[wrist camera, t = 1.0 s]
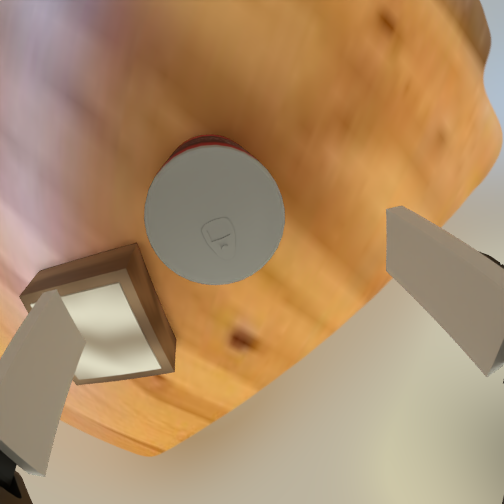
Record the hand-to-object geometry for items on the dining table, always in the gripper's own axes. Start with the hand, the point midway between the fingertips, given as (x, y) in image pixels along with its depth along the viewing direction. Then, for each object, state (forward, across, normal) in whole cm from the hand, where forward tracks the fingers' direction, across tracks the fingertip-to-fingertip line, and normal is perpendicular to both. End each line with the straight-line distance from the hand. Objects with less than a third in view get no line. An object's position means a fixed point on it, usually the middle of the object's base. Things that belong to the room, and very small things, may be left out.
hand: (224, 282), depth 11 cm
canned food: (+17, 0, 0) cm, 17 cm away
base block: (+17, -14, -10) cm, 24 cm away
